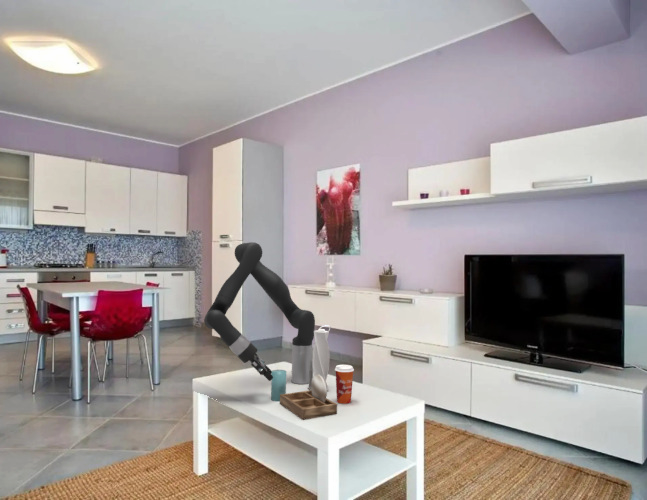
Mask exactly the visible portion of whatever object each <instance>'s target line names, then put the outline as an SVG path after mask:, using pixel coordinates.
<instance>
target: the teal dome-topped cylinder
mask: <svg viewBox="0 0 647 500" xmlns="http://www.w3.org/2000/svg"><path fill="white" fill-rule="evenodd" d="M271 371H272V373H271V375H272V376H273V379H272V380H271V381H270V382H271V385H270V400H271V401H273V402H280V395H281V394H287V370H285V369H273V370H271Z"/></svg>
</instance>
